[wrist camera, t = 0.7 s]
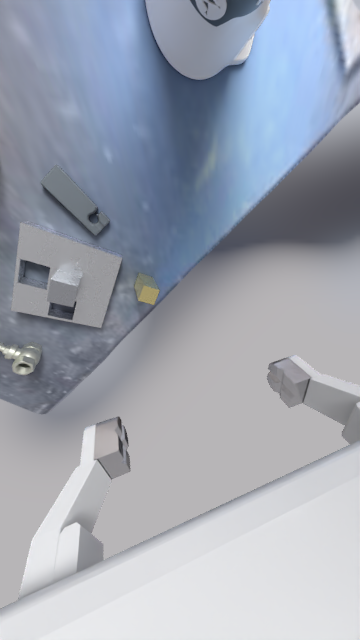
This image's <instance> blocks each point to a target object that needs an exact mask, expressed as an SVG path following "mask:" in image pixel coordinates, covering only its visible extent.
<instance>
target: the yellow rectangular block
mask: <svg viewBox="0 0 360 640" xmlns="http://www.w3.org/2000/svg"><path fill="white" fill-rule="evenodd" d="M134 288H135V291H136V295H137V298H138V301H141V302H145V303H149V304H152V305H154V304H155V301H156V299H157V296H158V293H159V291H160V290H159V288H158V286H157V284H156V283H155V281H154V279H153V277H150V276H147V275H144V274H141V273H138V276H137V279H136V282H135V285H134Z"/></svg>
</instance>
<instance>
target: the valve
mask: <svg viewBox="0 0 360 640" xmlns="http://www.w3.org/2000/svg"><path fill="white" fill-rule="evenodd" d="M3 345H4V343H1V342H0V351H1V352H3V353H2V354H4V355H5V357H4V358H6V359H11V358H12V359H15V361H14V362H13V364H12V367H13V372H15V373H17V374H20V375H27V374H29V373H31V372H33V371H34V369H35V367H36V365H37V364H38V362H39V361H40V356H41V353H42V346H41V345H39V344H37V343H34V342H30V343H28V344H25V345H24V346H23V347H22V349H20V348H18V347H19V346H17V345H15V344H13V345H12V346H9V345H8V346H3Z"/></svg>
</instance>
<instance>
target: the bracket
mask: <svg viewBox="0 0 360 640" xmlns="http://www.w3.org/2000/svg"><path fill="white" fill-rule="evenodd" d="M41 185H42V186H43V187H45V188H46V189H47V190H48V191H49V192H50V193H51V194H52V195H53V196H54V197H55V198H56V199H57V200H58V201H59V202H60V203H61V204H62V205H63V206H64V207H65V208H66V209H67V210H69V211H70V212H71V213H72V214H73V215H74V216H75V217H76V218H77V219H78V220H79V221H80V222H81V223H82V224H83V225H84V226H85V227H86V228H87V229H88V230H89V231H90V232H92V233H93V234H94V235H95V236H96V235H97V234H98V233H99V232H100V231H101V230H102V229H103V228H104V227H105V226H106V225H107V224H108V223H109V222H110V220H109V218H108V217H107V216H106V215H105V214H104V213H103V212H102V211H101V212H100V213H99V214H96V215H97V217H98V222H97V223H95V224H94V223H91V222H90V220H89V216H90V215H91V214H93V213H96V212H95V211H96V210H97V209H98V207H97V206H96V205H95V204H94V203H93V202H92V200H91V199H90V198H89V197H88V196H87V195H86V194H85V193H84V192H83V191H82V190H81V189H80V188H79V187H78V186H77V185H76V184H75V182H74V181H73V180H72V179H71V178H70V177H69V176H68V175H67V174H66V173H65V172H64V171H63V170H62V169H61V168H60V167H59V166H58V165H55V166H54V167H53V168H52V170H51V171H50V172H49V173H48V174H47V175H46V177H45V178H44V179H43V180H42V181H41Z"/></svg>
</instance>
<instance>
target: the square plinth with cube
mask: <svg viewBox="0 0 360 640" xmlns="http://www.w3.org/2000/svg"><path fill="white" fill-rule="evenodd" d="M25 261H30V262H33V263H37V264H40V265H44V266H47V267H50V273H49V278H48V283H44V282H40V281H36V280H32V279H28V278H24V269H25ZM121 261H122V255H121V254H118V253H116V252H113V251H110V250H107V249H104V248H102V247H99V246H96V245H93V244H90V243H88V242H85V241H82V240H79V239H77V238H74V237H71V236H68V235H65V234H63V233H60V232H57V231H54V230H51V229H49V228H46V227H43V226H40V225H38V224H35V223H32V222H29V221H24V222H20V232H19V241H18V250H17V260H16V269H15V278H14V287H13V297H12V306H11V311H16V312H21V313H27V314H32V315H37V316H42V317H47V318H52V319H57V320H62V321H67V322H73V323H78V324H83V325H88V326H93V327H98V328H101V327H102V323H103V320H104V317H105V314H106V310H107V307H108V304H109V300H110V297H111V294H112V290H113V287H114V284H115V281H116V277H117V274H118V271H119V267H120V264H121ZM75 301H77V303H76V307H75V311H74V313H69V312H65V311H60V310H55V309H51V307H52V303H56V304H60V305H65V306H69V307H73V306H74V303H75Z"/></svg>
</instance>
